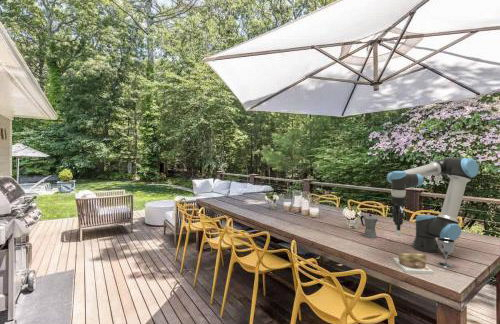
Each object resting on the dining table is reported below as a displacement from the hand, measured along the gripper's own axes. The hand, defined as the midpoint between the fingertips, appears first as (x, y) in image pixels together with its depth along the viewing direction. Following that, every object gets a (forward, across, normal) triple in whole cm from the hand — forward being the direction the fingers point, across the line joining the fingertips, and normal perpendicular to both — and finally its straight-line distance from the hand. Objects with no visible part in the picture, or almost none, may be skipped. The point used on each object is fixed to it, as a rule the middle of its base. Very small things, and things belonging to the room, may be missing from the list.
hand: (397, 234), depth 166 cm
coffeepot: (+16, -50, -2) cm, 53 cm away
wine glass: (+16, +3, +26) cm, 31 cm away
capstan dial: (+14, +7, +5) cm, 17 cm away
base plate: (+16, +7, +5) cm, 19 cm away
